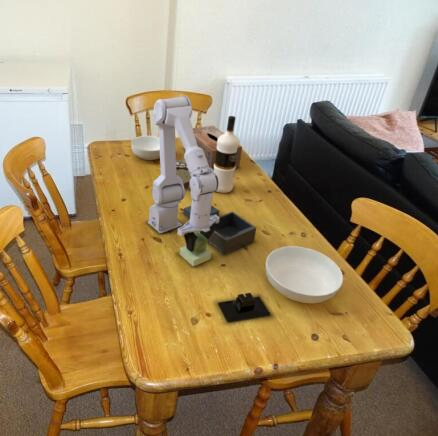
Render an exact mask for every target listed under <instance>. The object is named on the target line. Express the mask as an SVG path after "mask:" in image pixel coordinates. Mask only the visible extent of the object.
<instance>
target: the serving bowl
mask: <svg viewBox="0 0 438 436" xmlns="http://www.w3.org/2000/svg"><path fill="white" fill-rule="evenodd" d="M265 274H266V278H267V279H268V281H269V283H270V284H271V286H272V287H273V288H274V289H275V290H276V291H277V292H278V293H279V294H281V295H282V296H283V297H285V298H287V299H289V300H292V301H294V302H298V303H303V304H319V303H323V302H326V301H328V300H330V299H332V298H333V297H334V296H336V294H337V293H338V292H339V291H340V289H341V288H342V286H343V283H344V275H343V272H342V270H341V268H340V266H339V265H338V264H337V263H336V262H335V261H334V260H333V259H332V258H330V257H329V256H327V255H325V254H324V253H322V252H319V251H317V250H315V249H312V248H309V247H304V246H297V245H290V246H289V245H288V246H287V245H286V246H281V247H278V248H275V249H274V250H272V251H271V252H270V253H269V254H268V255H267V257H266V259H265Z"/></svg>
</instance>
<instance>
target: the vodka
mask: <svg viewBox="0 0 438 436" xmlns="http://www.w3.org/2000/svg"><path fill="white" fill-rule="evenodd" d="M227 118H228V119H227V125H226V131H225V132H224V134H223V135H221V136H220V137H219V138H218V140H217V151H216V159H215V164H214V172H215V173H216V174H217V176H218V180H219V187H218V189H217V190H216V191H215V192H216V193H219V194H226V193H230V192H232V191H233V189H234V186H235V183H234V177H235V171H236V169H237V168H236V167H235V164H236V158H237V152H238V147H239V145H240V143H241V142H240V141H241V140H240V138H239V137H238V136H237V135H236V134H235V133H234V130H235V123H236V118H237V117H236V116H235V115H228V117H227Z"/></svg>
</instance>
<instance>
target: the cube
mask: <svg viewBox="0 0 438 436" xmlns="http://www.w3.org/2000/svg"><path fill="white" fill-rule="evenodd" d="M194 233H195V235H196V236H197V237H198V238H197V239H196V241H195V244H194V249H193V251H192V253H193V254H194V255H197V254H199V253H202V252H204V251H206V249H208V248H207V247H208V242H207V241H208V239H207V238H206V237H205V236H203V235H202V234H201V233H200V231H197V232H194ZM185 246H186V248H187V245H186V244H185Z"/></svg>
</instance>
